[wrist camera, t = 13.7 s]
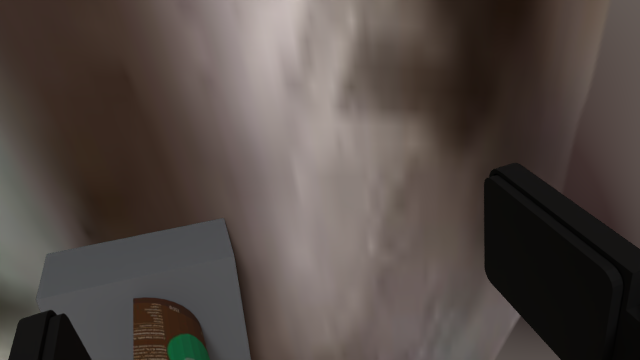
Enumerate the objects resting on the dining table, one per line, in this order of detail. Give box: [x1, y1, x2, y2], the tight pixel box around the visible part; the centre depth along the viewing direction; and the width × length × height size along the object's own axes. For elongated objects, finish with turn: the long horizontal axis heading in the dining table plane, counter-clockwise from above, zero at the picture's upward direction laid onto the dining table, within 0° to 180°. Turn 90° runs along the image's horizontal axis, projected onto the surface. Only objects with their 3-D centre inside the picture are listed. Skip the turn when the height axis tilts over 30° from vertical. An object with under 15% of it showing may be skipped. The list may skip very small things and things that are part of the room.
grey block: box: [36, 218, 251, 360], centre depth 45 cm, size 14×14×6 cm
